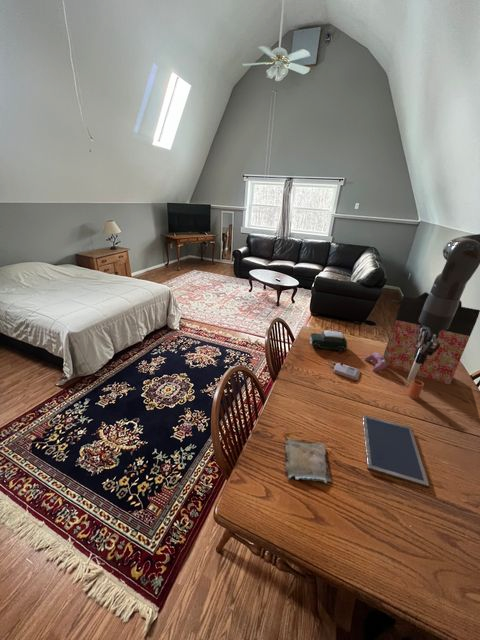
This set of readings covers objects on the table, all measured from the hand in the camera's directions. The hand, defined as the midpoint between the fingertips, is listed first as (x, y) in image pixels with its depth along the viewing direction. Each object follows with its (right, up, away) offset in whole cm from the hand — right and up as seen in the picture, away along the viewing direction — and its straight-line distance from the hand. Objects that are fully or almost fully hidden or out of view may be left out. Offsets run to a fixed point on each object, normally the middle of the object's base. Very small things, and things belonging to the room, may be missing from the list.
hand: (418, 360), depth 84 cm
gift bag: (+21, -9, +38) cm, 45 cm away
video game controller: (+5, -8, +38) cm, 39 cm away
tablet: (-10, -26, -2) cm, 28 cm away
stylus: (0, -7, +3) cm, 8 cm away
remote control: (-10, -10, +33) cm, 36 cm away
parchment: (-37, -28, -7) cm, 47 cm away
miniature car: (-11, -1, +52) cm, 53 cm away
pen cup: (+11, -17, +20) cm, 28 cm away
